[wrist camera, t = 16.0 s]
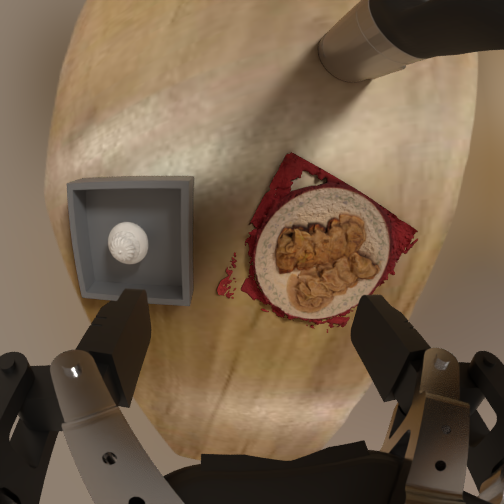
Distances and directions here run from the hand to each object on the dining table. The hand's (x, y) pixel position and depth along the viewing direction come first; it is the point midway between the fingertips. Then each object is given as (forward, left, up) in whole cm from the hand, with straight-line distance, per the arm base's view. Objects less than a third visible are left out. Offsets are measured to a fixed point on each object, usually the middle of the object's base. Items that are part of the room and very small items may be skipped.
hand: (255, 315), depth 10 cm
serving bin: (+15, +8, -32) cm, 36 cm away
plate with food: (-15, +11, -33) cm, 38 cm away
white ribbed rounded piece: (+15, +8, -31) cm, 35 cm away
